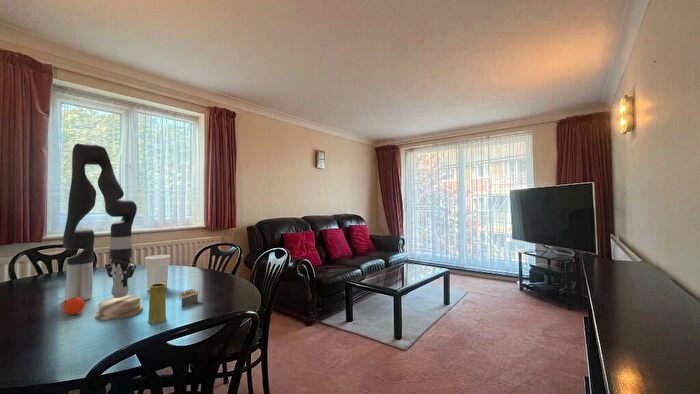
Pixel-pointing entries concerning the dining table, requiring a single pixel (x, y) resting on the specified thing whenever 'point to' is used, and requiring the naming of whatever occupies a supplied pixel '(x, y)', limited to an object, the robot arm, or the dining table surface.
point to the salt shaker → (118, 285)
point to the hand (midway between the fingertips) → (120, 287)
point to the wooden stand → (119, 308)
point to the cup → (157, 269)
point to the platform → (189, 297)
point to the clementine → (73, 305)
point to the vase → (157, 303)
